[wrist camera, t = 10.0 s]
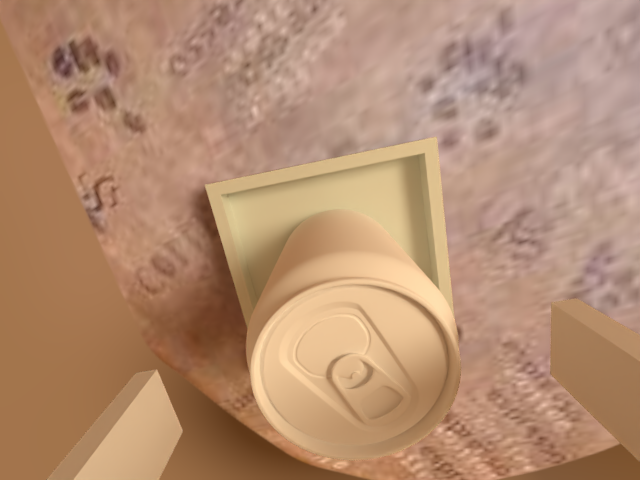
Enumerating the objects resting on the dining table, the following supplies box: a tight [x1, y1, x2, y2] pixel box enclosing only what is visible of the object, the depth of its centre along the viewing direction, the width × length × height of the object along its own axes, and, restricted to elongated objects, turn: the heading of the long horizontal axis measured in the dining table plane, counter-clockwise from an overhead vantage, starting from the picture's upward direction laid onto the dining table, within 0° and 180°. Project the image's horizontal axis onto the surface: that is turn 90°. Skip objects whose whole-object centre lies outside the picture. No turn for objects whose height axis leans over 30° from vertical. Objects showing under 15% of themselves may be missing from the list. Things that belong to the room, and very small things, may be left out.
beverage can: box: [246, 209, 461, 460], centre depth 16 cm, size 8×8×12 cm
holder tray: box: [205, 137, 454, 330], centre depth 22 cm, size 15×15×2 cm
